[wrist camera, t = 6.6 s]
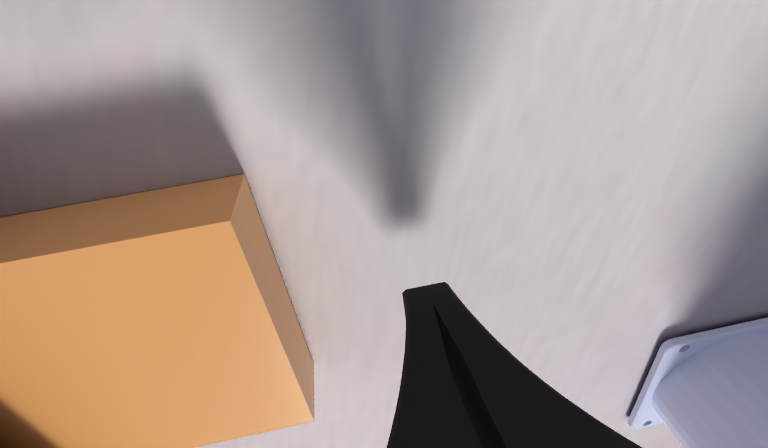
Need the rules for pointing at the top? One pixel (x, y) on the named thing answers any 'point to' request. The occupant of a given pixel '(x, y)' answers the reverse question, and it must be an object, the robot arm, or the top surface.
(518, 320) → the top surface
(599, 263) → the top surface
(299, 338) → the thin wooden plank
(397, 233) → the top surface
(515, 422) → the robot arm
